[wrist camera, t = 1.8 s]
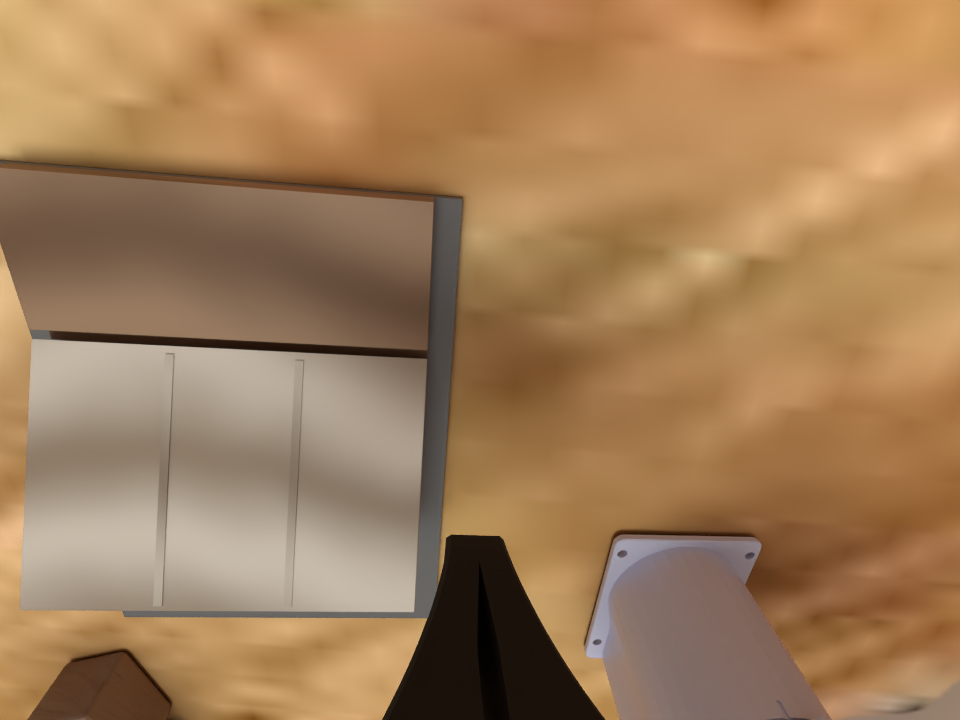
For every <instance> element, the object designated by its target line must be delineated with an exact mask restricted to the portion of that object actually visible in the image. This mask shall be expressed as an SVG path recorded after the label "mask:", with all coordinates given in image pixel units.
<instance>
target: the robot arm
mask: <svg viewBox="0 0 960 720" xmlns="http://www.w3.org/2000/svg"><path fill="white" fill-rule="evenodd" d="M761 547H762V545H761V543H760V542H759V540H758V539H757V538H755V537H727V536H676V535H626V534H624V535H619V536H617V537H616V538H615V539H614V540H613V543H612V547H611V551H610V554H609V558H608V562H607V565H606V569H605V573H604V577H603V580H602V584H601V588H600V591H599V595H598V599H597V603H596V606H595V610H594V614H593V618H592V621H591V625H590V629H589V632H588V636H587V640H586V644H585V647H584V650H585V654H586V656H587V657H589V658H602V659H603V662H604V665H605V669H606V672H607V676H608V679H609V683H610V686H611V690H612V693H613V697H614V700H615V704H616V707H617V711H618V714H619V718H620V720H832V719H831V718H830V716H829V715H828V713H827V712H826V710H825V708H824V707H823V705H822V704H821V702H820V701H819V699H818V698H817V696H816V694H815V693H814V691H813V690H812V688H811V687H810V685H809V684H808V682H807V680H806V679H805V677H804V676H803V674H802V673H801V671H800V670H799V668H798V666H797V665H796V663H795V662H794V660H793V659H792V657H791V656H790V654H789V652H788V651H787V649H786V648H785V646H784V645H783V643H782V642H781V640H780V638H779V637H778V635H777V634H776V632H775V631H774V629H773V628H772V626H771V624H770V623H769V621H768V620H767V618H766V617H765V615H764V614H763V612H762V610H761V609H760V607H759V606H758V604H757V603H756V601H755V600H754V598H753V596H752V595H751V593H750V592H749V590H748V589H747V587H746V586H745V584H746V581H747V579H748V577H749V575H750V572H751V570H752V568H753V566H754V563H755V561H756V559H757V557H758V555H759V552H760V550H761ZM621 550H623V551H621ZM619 551H620V552H619ZM382 720H605V719H604V717H603V716H602V715H601V713H600V712H599V711H598V709H597V708H596V707H595V705H594V704H593V702H592V701H591V700H590V698H589V697H588V696H587V694H586V693H585V691H584V690H583V689H582V687H581V686H580V684H579V683H578V681H577V680H576V678H575V677H574V675H573V674H572V672H571V671H570V669H569V668H568V666H567V665H566V663H565V662H564V660H563V658H562V657H561V655H560V654H559V652H558V650H557V649H556V647H555V645H554V644H553V642H552V640H551V639H550V637H549V635H548V634H547V632H546V630H545V628H544V627H543V625H542V623H541V621H540V619H539V618H538V616H537V614H536V612H535V610H534V608H533V606H532V604H531V602H530V600H529V598H528V596H527V594H526V592H525V590H524V588H523V586H522V584H521V582H520V580H519V577H518V575H517V573H516V571H515V569H514V566H513V564H512V561H511V559H510V556H509V554H508V551H507V549H506V546H505V543H504V540H503V539H502V538H501V537H500V536H477V535H450V536H449V537H447V538H446V547H445V557H444V564H443V569H442V573H441V577H440V581H439V585H438V588H437V591H436V595H435V598H434V601H433V604H432V607H431V610H430V613H429V616H428V619H427V621H426V624H425V627H424V629H423V632H422V634H421V637H420V640H419V642H418V645H417V647H416V650H415V652H414V654H413V657H412V659H411V661H410V664H409V666H408V668H407V670H406V672H405V675H404V677H403V679H402V681H401V683H400V685H399V687H398V689H397V691H396V693H395V695H394V697H393V699H392V701H391V703H390V705H389V707H388V709H387V711H386V713H385V715H384V717H383V719H382Z"/></svg>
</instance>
